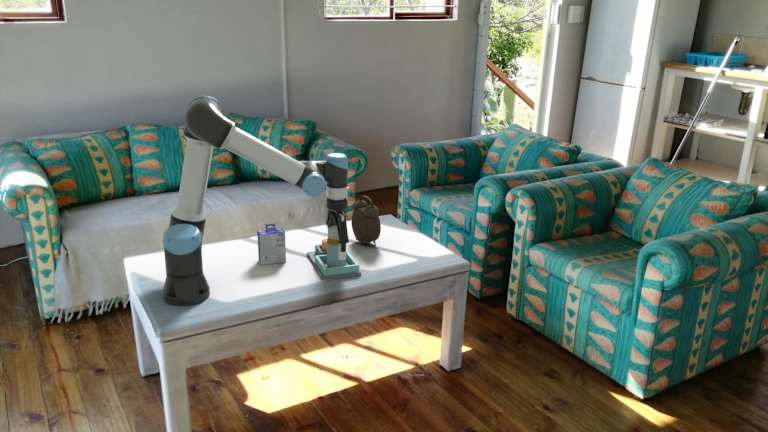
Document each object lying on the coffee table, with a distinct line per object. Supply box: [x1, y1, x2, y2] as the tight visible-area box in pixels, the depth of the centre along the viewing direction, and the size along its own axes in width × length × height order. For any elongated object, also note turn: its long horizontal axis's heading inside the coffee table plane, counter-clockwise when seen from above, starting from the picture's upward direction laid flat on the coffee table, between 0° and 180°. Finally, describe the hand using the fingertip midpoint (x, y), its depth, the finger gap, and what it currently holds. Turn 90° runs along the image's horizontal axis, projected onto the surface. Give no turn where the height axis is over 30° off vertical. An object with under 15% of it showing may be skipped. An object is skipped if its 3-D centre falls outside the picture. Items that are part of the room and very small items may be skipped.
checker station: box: [306, 243, 362, 281], centre depth 249 cm, size 14×24×4 cm, turn 21°
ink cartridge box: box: [256, 223, 287, 266], centre depth 249 cm, size 10×6×14 cm, turn 112°
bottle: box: [326, 226, 346, 268], centre depth 243 cm, size 7×7×15 cm
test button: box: [321, 238, 328, 251], centre depth 254 cm, size 5×5×5 cm
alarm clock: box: [351, 194, 382, 247], centre depth 268 cm, size 14×7×20 cm, turn 32°
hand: (336, 252), depth 243 cm, fingers open, 13 cm apart
